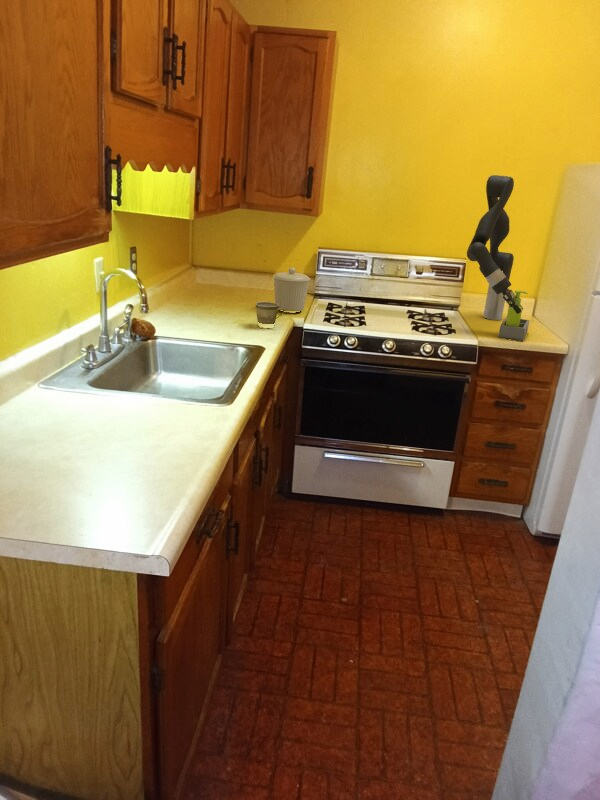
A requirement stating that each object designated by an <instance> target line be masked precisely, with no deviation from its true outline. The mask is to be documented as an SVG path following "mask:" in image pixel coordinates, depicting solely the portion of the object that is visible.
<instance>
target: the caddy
mask: <svg viewBox="0 0 600 800" xmlns="http://www.w3.org/2000/svg"><path fill="white" fill-rule="evenodd" d="M506 319H507V316H506V317H505V318H504V319H503V321H502V322H501V324H500V327H499V332H498V337H499V338H498V337H497V338H498V339H502V338H505V339H504V340H508V339H511V340H510V341H514V340H515V342H521V343H522V342H523V341H524V340H525V338H526V336H527V334H528V330H529V325H530V319H523V318H521V319H520V324H519V327H514V326H508V325H505V324H506Z"/></svg>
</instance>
